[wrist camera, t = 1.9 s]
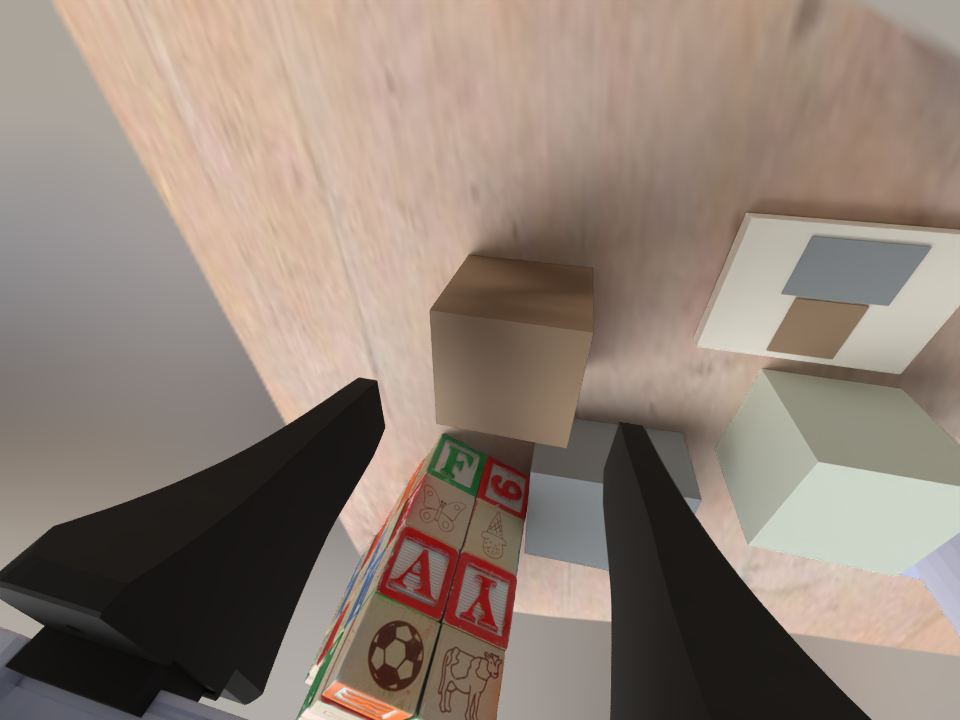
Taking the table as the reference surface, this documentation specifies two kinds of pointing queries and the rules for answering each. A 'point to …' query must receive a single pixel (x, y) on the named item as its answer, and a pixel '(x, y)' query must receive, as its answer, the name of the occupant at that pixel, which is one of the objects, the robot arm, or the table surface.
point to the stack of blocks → (428, 599)
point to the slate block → (588, 491)
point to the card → (833, 291)
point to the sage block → (840, 472)
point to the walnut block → (512, 347)
